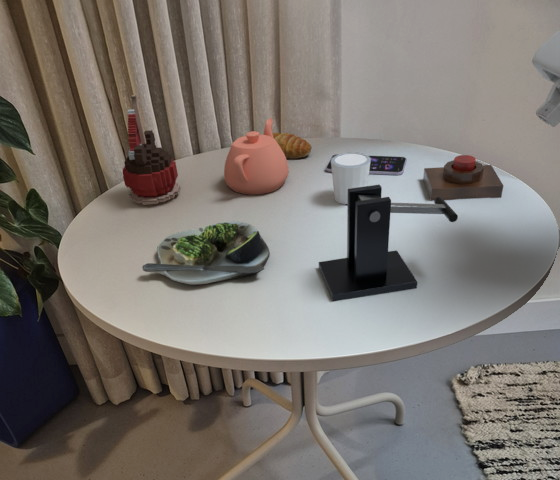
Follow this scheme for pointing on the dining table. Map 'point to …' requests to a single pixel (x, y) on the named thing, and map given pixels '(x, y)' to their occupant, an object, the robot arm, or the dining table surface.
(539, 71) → the robot arm
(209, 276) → the salad plate
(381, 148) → the dining table surface
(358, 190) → the bracket
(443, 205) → the lever
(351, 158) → the white cup
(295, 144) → the pastry
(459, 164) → the button
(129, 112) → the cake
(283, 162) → the teapot
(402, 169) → the smartphone
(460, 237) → the dining table surface
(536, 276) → the dining table surface
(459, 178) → the console
